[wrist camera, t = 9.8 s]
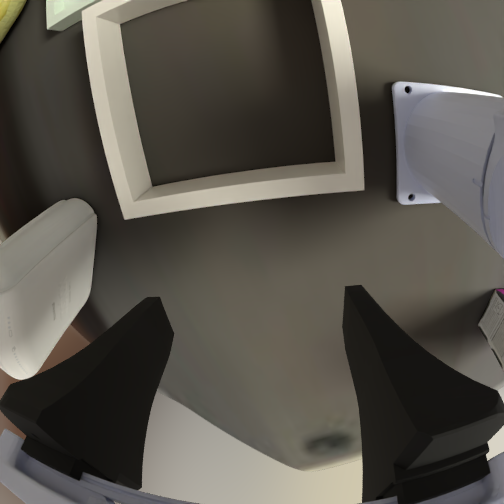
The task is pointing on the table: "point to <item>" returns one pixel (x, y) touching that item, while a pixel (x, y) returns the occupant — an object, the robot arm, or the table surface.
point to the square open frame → (225, 185)
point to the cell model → (9, 14)
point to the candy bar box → (494, 324)
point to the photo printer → (44, 283)
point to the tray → (65, 12)
